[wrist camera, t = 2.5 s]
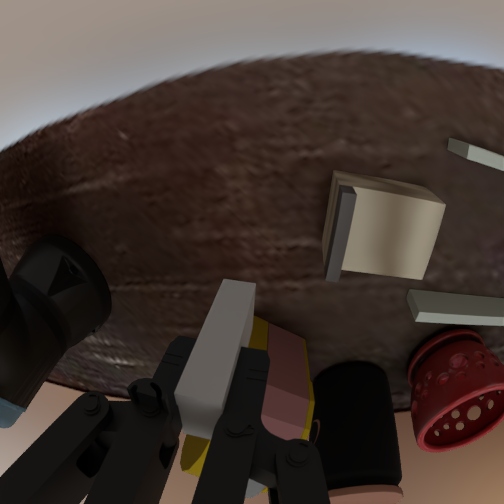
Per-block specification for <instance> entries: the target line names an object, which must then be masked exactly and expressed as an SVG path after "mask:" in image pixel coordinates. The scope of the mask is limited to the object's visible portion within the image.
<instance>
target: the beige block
mask: <svg viewBox="0 0 504 504" xmlns="http://www.w3.org/2000/svg"><path fill="white" fill-rule="evenodd" d="M445 206H446V204H445V203H444V202H442V201H441V200H440V199H439V198H438V197H437V196H435V195H434V194H433V193H432V192H431V191H430V190H428V189H427V188H426V187H423V186H418V185H414V184H409V183H404V182H399V181H394V180H389V179H384V178H378V177H373V176H367V175H362V174H356V173H350V172H343V171H337V170H333V175H332V182H331V189H330V195H329V202H328V208H327V214H326V220H325V226H324V231H323V237H322V250H323V259H324V270H325V281H331V282H338V281H339V277H340V273H341V270H348V271H356V272H364V273H372V274H380V275H388V276H395V277H403V278H411V279H419V280H422V278H423V276H424V273H425V270H426V267H427V265H428V262H429V259H430V256H431V253H432V250H433V247H434V244H435V241H436V237H437V234H438V231H439V227H440V224H441V221H442V217H443V214H444V210H445Z"/></svg>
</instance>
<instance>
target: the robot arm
mask: <svg viewBox="0 0 504 504" xmlns="http://www.w3.org/2000/svg"><path fill="white" fill-rule="evenodd" d="M255 290H256V283H249V282H242V281H235V280H228V279H223V281H222V284H221V286H220V288H219V290H218V293H217V295H216V297H215V299H214V302H213V304H212V306H211V309H210V311H209V313H208V315H207V318H206V320H205V322H204V325H203V327H202V329H201V332H200V334H199V336H198V338H197V339H194V338H189V337H184V336H178V337H177V338H176V339H175V340H174V341H172V342H171V343H170V345H169V347H168V349H167V351H166V352H165V355H164V356H163V358H162V360H161V362H160V364H159V366H158V368H157V370H156V372H155V374H154V376H153V378H152V379H150V378H143V379H138V380H136V381H134V382H132V383H131V384H130V385H129V386H128V388H127V390H128V393H129V395H130V398H131V401H108V399H107V398H106V397H105V396H104V395H103V394H101V393H99V392H87V393H84V394H83V395H81V396H80V397H78V398H77V399H76V400H75V401H74V402H73V403H72V404H71V405H70V406H69V407H68V408H67V409H66V410H65V411H64V412H63V413H62V414H61V415H60V416H59V417H58V418H57V419H56V420H55V421H54V422H53V423H52V424H51V426H49V427H48V429H46V430H45V432H44V433H43V434H42V435H41V436H40V437H39V438H38V439H37V440H36V441H35V442H34V443H33V444H32V445H31V446H30V447H29V448H28V449H27V450H26V451H25V452H24V453H23V454H22V455H21V456H20V457H19V458H18V459H17V460H16V461H15V462H14V463H13V464H12V465H11V466H10V467H9V468H8V469H7V470H6V471H5V473H4V474H3V475H2V476H1V477H0V504H79V503H80V502H81V501H82V500H83V499H84V498H85V496H86V495H87V494H88V495H87V498H86V500H85V502H84V504H159V501H160V498H161V496H162V493H163V490H164V487H165V484H166V482H167V479H168V475H169V473H170V470H171V467H172V465H173V462H174V459H175V456H176V453H177V450H178V448H179V438H178V437H179V434H180V432H181V429H183V433H185V434H189V435H193V436H197V437H201V438H205V439H210V440H211V441H210V444H209V448H208V451H207V454H206V458H205V461H204V464H203V467H202V471H201V474H200V477H199V481H198V484H197V487H196V490H195V494H194V497H193V500H192V504H244V499H245V495H246V490H247V486H248V481H249V479H251V480H254V481H256V482H258V483H260V484H262V485H264V486H267V488H268V496H269V504H331V503H330V498H329V494H328V489H327V485H326V480H325V476H324V471H323V467H322V463H321V458H320V454H319V452H318V449H317V447H316V446H315V445H313V444H312V443H311V442H310V441H307V440H305V439H296V438H294V439H291V440H285V439H282V438H280V437H278V436H276V435H274V434H272V433H270V432H269V431H268V430H267V429H266V428H265V426H264V425H263V423H262V420H261V414H262V408H263V402H264V397H265V391H266V385H267V379H268V373H269V367H270V358H269V355H268V353H267V350H261V349H255V348H248V344H249V340H250V336H251V332H252V327H253V315H254V302H255ZM110 311H111V298H110V293H109V290H108V287H107V284H106V282H105V280H104V278H103V276H102V274H101V272H100V271H99V269H98V268H97V266H96V265H95V263H94V262H93V261H92V260H91V258H90V257H89V256H88V255H87V254H86V253H85V252H84V251H83V250H82V249H81V248H80V247H78V246H77V245H76V244H74V243H73V242H71V241H69V240H68V239H66V238H63V237H61V236H57V235H46V236H43V237H41V238H39V239H38V240H36V241H35V242H34V243H32V244H31V245H30V246H29V247H28V248H27V249H26V251H25V252H24V255H23V256H22V258H21V259H20V261H19V262H18V264H17V266H16V267H15V269H14V271H13V272H12V274H11V276H10V278H9V279H8V278H7V275H6V272H5V269H4V267H3V264H2V260H1V257H0V428H9V427H11V426H12V425H13V424H14V423H15V422H16V420H17V419H18V418H19V416H20V415H21V414H22V412H25V411H26V409H27V407H28V406H29V404H30V403H31V401H32V399H33V398H34V396H35V395H36V393H37V392H38V390H39V389H40V387H41V386H42V384H43V383H44V382H45V380H46V379H47V377H48V376H49V374H50V373H51V371H52V370H53V369H54V367H55V366H56V364H57V363H58V362H59V360H60V359H61V357H62V356H63V355H64V353H65V352H66V351H67V350H68V349H69V348H71V347H72V346H74V345H76V344H77V343H79V342H80V341H82V340H83V339H85V338H86V337H87V336H90V335H93V334H94V333H96V332H97V331H98V330H99V329H100V328H101V327H102V325H103V324H104V323H105V321H106V320H107V319H108V317H109V314H110Z"/></svg>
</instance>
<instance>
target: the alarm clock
mask: <svg viewBox="0 0 504 504" xmlns="http://www.w3.org/2000/svg"><path fill="white" fill-rule="evenodd" d="M248 348H255V349H261V350H267V353H268V355H269V358H270V367H269V373H268V379H267V385H266V391H265V397H264V402H263V408H262V414H261V420H262V423H263V425H264V426H265V428H266V429H267V430H268V431H269V432H270V433H272V434H274V435H276V436H278V437H280V438H282V439H285V440H291V439H294V438H296V439H305V440H306V439H307V437H308V434H309V432H310V428H311V422H312V417H313V410H314V404H315V401H314V393H313V386H312V382H311V381H310V374H309V365H308V357H307V348H306V340H305V339H304V338H302V337H299V336H297V335H295V334H293V333H291V332H288V331H286V330H284V329H282V328H280V327H278V326H275V325H273V324H271V323H269V324H268V322H267V321H265V320H263V319H261V318H258V317H256V316H254V315H253V327H252V332H251V336H250V340H249V344H248ZM210 441H211V440H210V439H205V438H201V437H197V436H193V435H189V434H187V435H186V438H185V441H184V445H183V448H182V454H181V461H180V464H181V468H182V471H184V472H187V473H189V474H192V475H195V476H198V477H200V474H201V471H202V467H203V464H204V461H205V458H206V454H207V451H208V448H209V444H210ZM267 491H268V488H267V486H264V485H262V484H260V483H258V482H256V481H254V480H251V479H249V481H248V486H247V490H246V495H245V498H251V497H254V496H256V495H258V494H259V493H265V492H267Z"/></svg>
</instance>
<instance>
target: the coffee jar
mask: <svg viewBox="0 0 504 504" xmlns="http://www.w3.org/2000/svg"><path fill="white" fill-rule="evenodd" d="M313 393H314V401H315V404H314V410H313V417H312V422H311V428H310V433H309V434H310V435H309V441H310V442H311V443H312V444H313V445H315V446H316V447H317V449H318V452H319V454H320V458H321V463H322V467H323V471H324V476H325V480H326V485H327V489H328V494H329V498H330V503H331V504H396V503H398V502H399V501H401V499H402V498H403V491H402V489H401V488H400V487H399V486H398V484H399V483H400V481H401V479H402V471H401V463H400V453H399V446H398V437H397V430H396V423H395V417H394V410H393V404H392V398H391V393H390V387H389V383H388V380H387V377H386V376H385V375H384V374H383V373H382V372H381V371H380V370H378V369H377V368H376V367H373V366H371V365H368V364H362V363H350V364H344V365H340V366H337V367H334V368H332V369H330V370H328V371H327V372H325V373H324V374H323V375H322V376H321V377H320V378H319V379H318V380H317V381H316V383H315V385H314V387H313Z"/></svg>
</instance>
